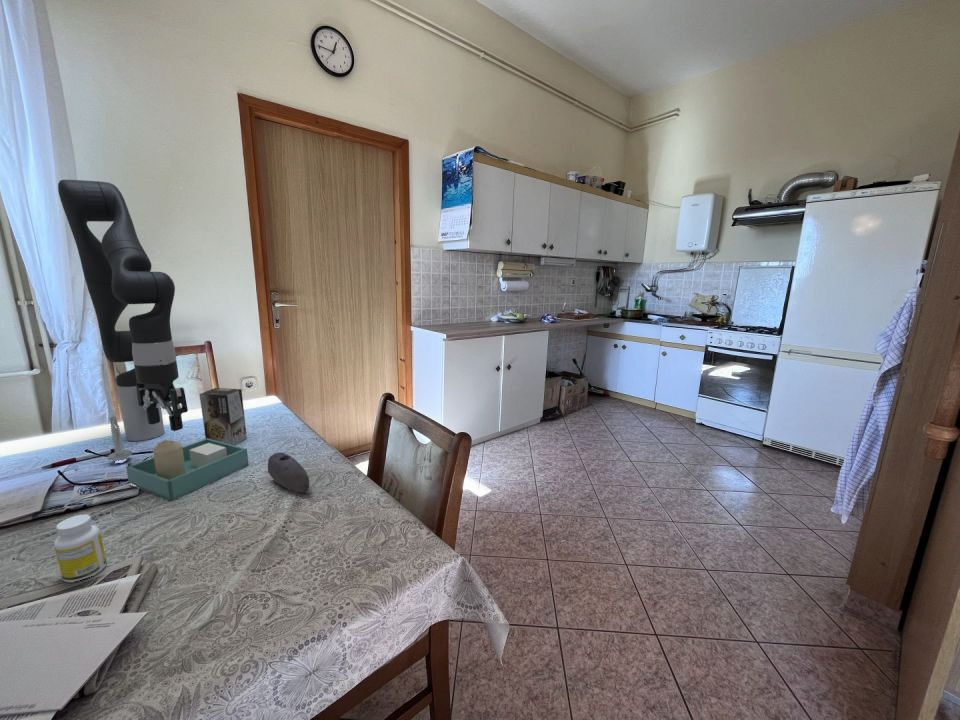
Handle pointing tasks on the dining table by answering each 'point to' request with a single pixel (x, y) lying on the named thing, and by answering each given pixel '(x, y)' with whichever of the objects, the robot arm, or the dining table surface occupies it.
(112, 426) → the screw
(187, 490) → the tote
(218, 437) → the coffee box
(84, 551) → the supplement bottle
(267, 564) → the dining table surface
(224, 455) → the white box
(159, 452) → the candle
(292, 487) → the perforated stone tool
